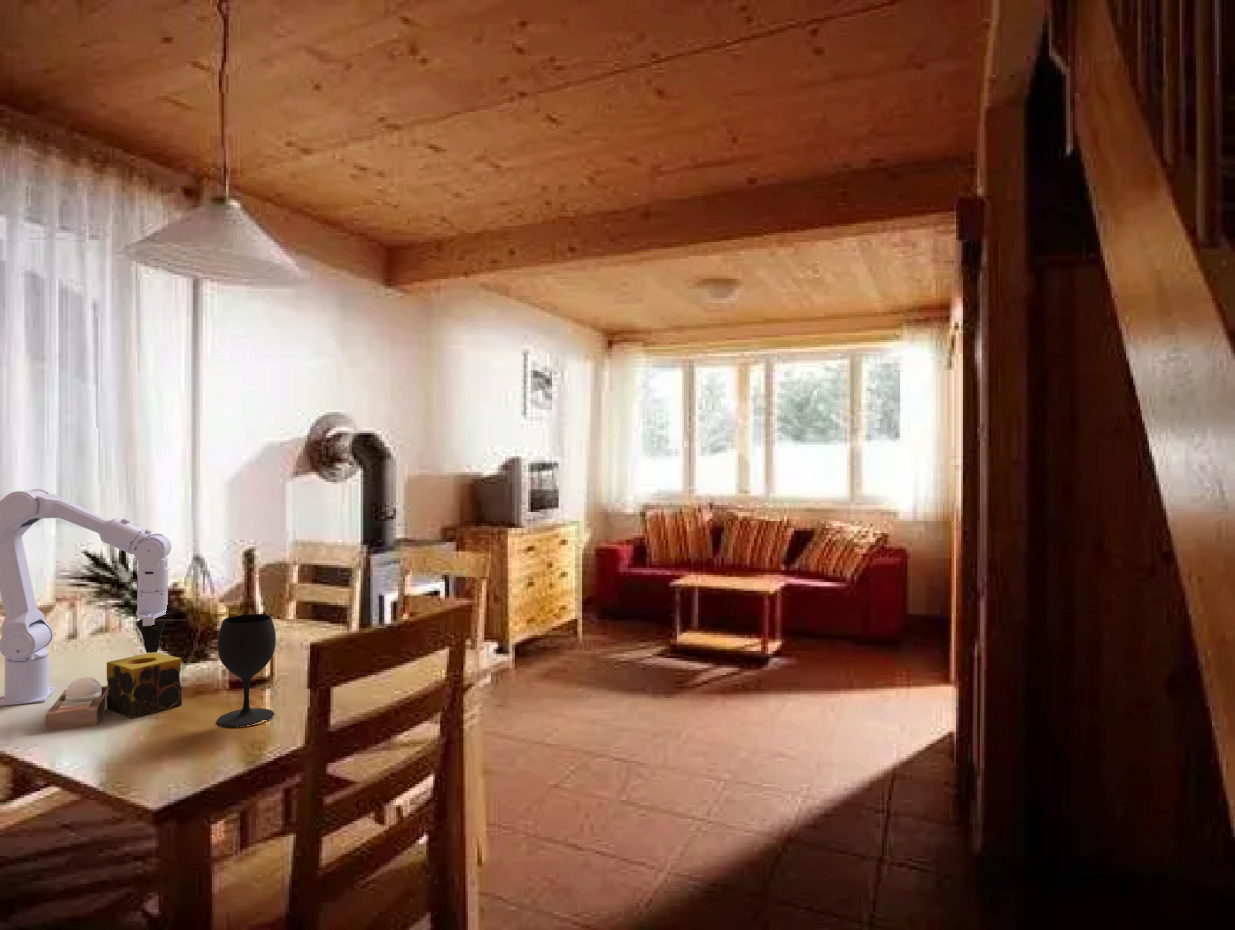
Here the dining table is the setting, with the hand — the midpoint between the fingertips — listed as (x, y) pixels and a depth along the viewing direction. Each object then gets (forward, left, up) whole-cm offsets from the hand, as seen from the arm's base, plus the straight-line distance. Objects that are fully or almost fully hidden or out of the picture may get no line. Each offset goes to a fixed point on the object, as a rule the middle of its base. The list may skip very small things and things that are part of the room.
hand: (152, 651), depth 166 cm
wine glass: (+26, +19, -9) cm, 34 cm away
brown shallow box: (+11, -11, -9) cm, 18 cm away
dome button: (+8, -11, -8) cm, 16 cm away
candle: (+11, 0, -9) cm, 15 cm away
